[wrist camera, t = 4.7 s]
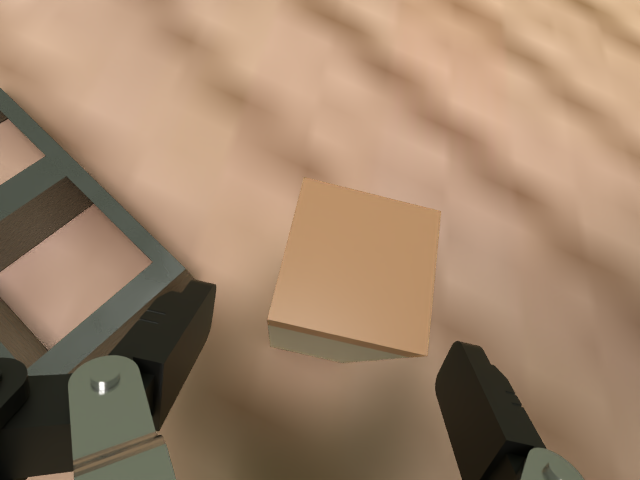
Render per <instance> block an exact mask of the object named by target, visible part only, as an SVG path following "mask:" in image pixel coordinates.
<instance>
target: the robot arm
mask: <svg viewBox="0 0 640 480" xmlns="http://www.w3.org/2000/svg"><path fill="white" fill-rule="evenodd" d="M215 294H216V285H215V284H212V283H207V282H203V281H199V280H194V279H192V280H191V281H190V282H189V284H188V285H187V286H186V287H185V289H184V290H183V291H182V293H179V292H175V291H169V292H168V293H166V294H164V295H162V296H160V297H158V298H156V300H155V301H154V302H153V303H152V304H151V305H150V307H149V308H148V309H147V311H145V313H144V314H143V315H142V316H141V317H140V319H139V321H137V322H136V323H135V324H134V325H133V327H132V328H131V329H130V330H129V331H128V332H127V334H126V335H125V336H124V337H123V338H122V339H121V341H120V342H119V343H118V344H117V345H116V346H115V348H114V349H113V350H112V351H111V352H110V353H109V355H108V356H102V357H98V358H95V359H92V360H90V361H88V362H86V363H84V364H83V365H81V366H80V367H79V368H78V369H76V370H75V372H74V373H70V374H59V375H36V376H28V372H27V368H26V366H25V365H24V364H23V363H22V362H21V361H18V360H16V359H12V358H5V357H2V358H0V480H26V479H27V478H28V477H32V476H40V475H48V474H56V473H64V472H71V471H74V480H176V478H175V474H174V470H173V467H172V463H171V460H170V456H169V453H168V449H167V446H166V443H165V440H164V438H163V436H162V435H159V436H157V434H156V431H159V430H160V428H161V426H162V424H163V423H164V421H165V419H166V417H167V415H168V413H169V411H170V409H171V407H172V405H173V403H174V401H175V400H176V398H177V396H178V394H179V392H180V390H181V388H182V386H183V384H184V382H185V380H186V378H187V377H188V375H189V373H190V371H191V369H192V367H193V365H194V363H195V361H196V359H197V357H198V356H199V354H200V352H201V350H202V348H203V346H204V344H205V342H206V340H207V337H208V335H209V331H210V328H211V323H212V316H213V309H214V302H215ZM435 391H436V396H437V399H438V402H439V406H440V409H441V412H442V415H443V419H444V422H445V425H446V429H447V432H448V435H449V438H450V442H451V445H452V448H453V451H454V455H455V458H456V461H457V464H458V468H459V471H460V474H461V477H462V480H584V479H583V477H582V476H581V475H580V473H579V472H578V471H577V470H576V469H575V468H574V467H573V466H572V465H571V464H570V463H569V462H568V461H566V460H565V459H564V458H562V457H561V456H559V455H558V454H556V453H554V452H552V451H550V450H547V449H546V447H545V445H544V443H543V442H542V440H541V438H540V436H539V435H538V433H537V431H536V429H535V427H534V426H533V424H532V422H531V420H530V419H529V417H528V415H527V413H526V411H525V410H524V408H523V407H521V405H522V404H521V403H520V401H519V399H518V397H517V396H516V395H515V392H514V390H513V388H512V387H511V385H510V383H509V381H508V380H507V378H506V377H505V376H504V375H503V374H502V373H501V372H500V371H499V370H498V369H497V368H496V367H495V366H494V365H491V364H490V362H489V360H488V358H487V356H486V354H485V352H484V350H483V349H482V348H481V347H480V346H477V345H473V344H468V343H464V342H460V341H456V342H454V343H453V345H452V346H451V348H450V350H449V352H448V354H447V356H446V358H445V360H444V362H443V364H442V366H441V368H440V370H439V372H438V375H437V378H436V383H435ZM155 430H156V431H155Z"/></svg>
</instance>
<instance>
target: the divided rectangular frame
mask: <svg viewBox="0 0 640 480" xmlns="http://www.w3.org/2000/svg"><path fill="white" fill-rule="evenodd" d="M7 118H8V119H9V120H10V121H11V122H12V123H13V124H14V125H15V126H16V127H17V128H18V129H19V130H20V131H21V132H22V133H24V134H25V135H26V136H27V137H28V138H29V139H30V140H31V141H32V142H33V143H34V144H35V145H36V146H37V147H38V148H39V149H40V150H41V151H42V152H43V153H44V154H45V155H46V156H45V157H43V158H42V159H40V160H39V161H37V162H36V163H34V164H32V165H31V166H29V167H28V168H26V169H25V170H23V171H22V172H20V173H18V174H17V175H15V176H14V177H12V178H11V179H9V180H8V181H6V182H5V183H3V184H1V185H0V271H1V270H3V269H4V268H5V267H7V266H8V265H10V264H11V263H12V262H14V261H15V260H16V259H18V258H19V257H21V256H22V255H23V254H25V253H26V252H27V251H29V250H30V249H32V248H33V247H34V246H36V245H37V244H38V243H40V242H41V241H42V240H44V239H45V238H47V237H48V236H49V235H51V234H52V233H53V232H55V231H56V230H58V229H59V228H60V227H62V226H63V225H64V224H66V223H67V222H69V221H70V220H71V219H73V218H74V217H75V216H77V215H78V214H80V213H81V212H82V211H84V210H85V209H86V208H88V207H89V206H90V205H92V204H93V203H94V204H95V205H96V206H97V207H98V208H99V209H100V210H101V211H102V212H103V213H104V214H105V215H106V216H107V217H108V218H109V219H110V220H111V221H112V222H113V223H114V224H115V225H116V226H117V227H118V228H119V229H120V230H121V231H122V232H123V233H124V234H125V235H126V236H127V237H128V238H129V239H130V240H131V241H132V242H133V243H134V244H135V245H136V246H137V247H138V248H139V249H140V250H141V251H142V252H143V253H144V254H145V255H146V256H147V257H148V258H149V259H150V260H151V261H153V263H152V264H151V265H149V266H148V267H147V268H146V269H145V270H143V271H142V272H141V273H140V274H139V275H138V276H136V277H135V278H134V279H133V280H132V281H130V282H129V283H128V284H127V285H126V286H125V287H123V288H122V289H121V290H120V291H119V292H117V293H116V294H115V295H114V296H113V297H112V298H110V299H109V300H108V301H107V302H106V303H104V304H103V305H102V306H101V307H100V308H99V309H97V310H96V311H95V312H94V313H93V314H91V315H90V316H89V317H88V318H87V319H86V320H84V321H83V322H82V323H81V324H80V325H78V326H77V327H76V328H75V329H74V330H73V331H71V332H70V333H69V334H68V335H67V336H65V337H64V338H63V339H62V340H61V341H60V342H58V343H57V344H56V345H55V346H54V347H52V348H51V349H50V350H49V351H48V350H47V349H46V348H45V347H44V346H43V345H42V344H41V343H40V341H39V340H38V339H37V338H36V337H35V336H34V335H33V334H32V333H31V331H30V330H29V329H28V328H27V327H26V326H25V325H24V324H23V323H22V321H21V320H20V319H19V318H18V317H17V316H16V315H15V314H14V312H13V311H12V310H11V309H10V308H9V307H8V306H7V305H6V304H5V302H4V301H3V300H2V299H1V298H0V358H2V357H5V358H12V359H16V360H18V361H21V362H22V363H23V364H24V365H25V366H26V368H27V372H28V376H36V375H59V374H70V373H74V372H75V370H76V369H78V368H79V367H80V366H81V365H83V364H84V363H86V362H88V361H90V360H92V359H95V358H98V357H102V356H108V355H109V353H110V352H111V351H112V350H113V349H114V348H115V346H116V345H117V344H118V343H119V342H120V341H121V339H122V338H123V337H124V336H125V335H126V334H127V332H128V331H129V330H130V329H131V328H132V327H133V325H134V324H135V323H136V322H137V321H139V319H140V317H141V316H142V315H143V314H144V313H145V311H147V309H148V308H149V307H150V305H151V304H152V303H153V302H154V301H155V300H156V298H158V297H160V296H162V295H164V294H166V293H168V292H169V291H175V292H179V293H182V291H183V290H184V289H185V287H186V286H187V285H188V284H189V282H190V281H191V280H192V279H194V278H193V277H192V276H191V274H190V273H189V272H188V271H187V270H186V269H185V268H184V267H183V266H182V265H181V264H180V263H179V262H178V261H177V260H176V259H175V258H174V257H173V256H172V255H171V254H170V253H169V252H168V251H167V250H166V249H165V248H164V247H163V246H162V245H161V244H160V243H159V242H158V241H157V240H156V239H155V238H154V237H153V236H151V235H150V234H149V233H148V232H147V231H146V230H145V229H144V228H143V227H142V226H141V225H140V224H139V223H138V222H137V221H136V220H135V219H134V218H133V217H132V216H131V215H130V214H129V213H128V212H127V211H126V210H125V209H124V208H123V207H122V206H121V205H120V204H119V203H118V202H117V201H116V200H115V199H114V198H113V197H112V196H111V195H110V194H109V193H107V192H106V191H105V190H104V189H103V188H102V187H101V186H100V185H99V184H98V183H97V182H96V181H95V180H94V179H93V178H92V177H91V176H90V175H89V174H88V173H87V172H86V171H85V170H84V169H83V168H82V167H81V166H80V165H79V164H78V163H77V162H76V161H75V160H74V159H73V158H72V157H71V156H70V155H69V154H68V153H67V152H66V151H65V150H63V149H62V148H61V147H60V146H59V145H58V144H57V143H56V142H55V141H54V140H53V139H52V138H51V137H50V136H49V135H48V134H47V133H46V132H45V131H44V130H43V129H42V128H41V127H40V126H39V125H38V124H37V123H36V122H35V121H34V120H33V119H32V118H31V117H30V116H29V115H28V114H27V113H26V112H25V111H24V110H23V109H22V108H21V107H20V106H18V105H17V104H16V103H15V102H14V101H13V100H12V99H11V98H10V97H9V96H8V95H7V94H6V93H5V92H4V91H3V90H2V89H1V88H0V122H2V121H4V120H5V119H7ZM194 280H195V279H194Z"/></svg>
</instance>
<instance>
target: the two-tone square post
mask: <svg viewBox="0 0 640 480" xmlns="http://www.w3.org/2000/svg"><path fill="white" fill-rule="evenodd" d="M440 217H441V211H438V210H434V209H430V208H426V207H422V206H418V205H414V204H410V203H406V202H402V201H398V200H394V199H390V198H386V197H382V196H378V195H374V194H370V193H366V192H362V191H358V190H354V189H350V188H346V187H342V186H338V185H334V184H329V183H325V182H321V181H317V180H313V179H309V178H305V177H304V179H303V183H302V187H301V191H300V194H299V198H298V202H297V206H296V210H295V214H294V218H293V221H292V225H291V229H290V233H289V237H288V241H287V245H286V248H285V252H284V256H283V260H282V264H281V268H280V271H279V275H278V279H277V283H276V287H275V291H274V295H273V298H272V302H271V306H270V310H269V314H268V318H267V322H268V331H269V339H270V347H274V348H279V349H283V350H288V351H292V352H296V353H301V354H305V355H310V356H314V357H318V358H323V359H327V360H332V361H336V362H341V363H350V362H362V361H374V360H386V359H397V358H409V357H421V356H428V345H429V334H430V324H431V313H432V302H433V291H434V281H435V270H436V259H437V249H438V238H439V227H440Z"/></svg>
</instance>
